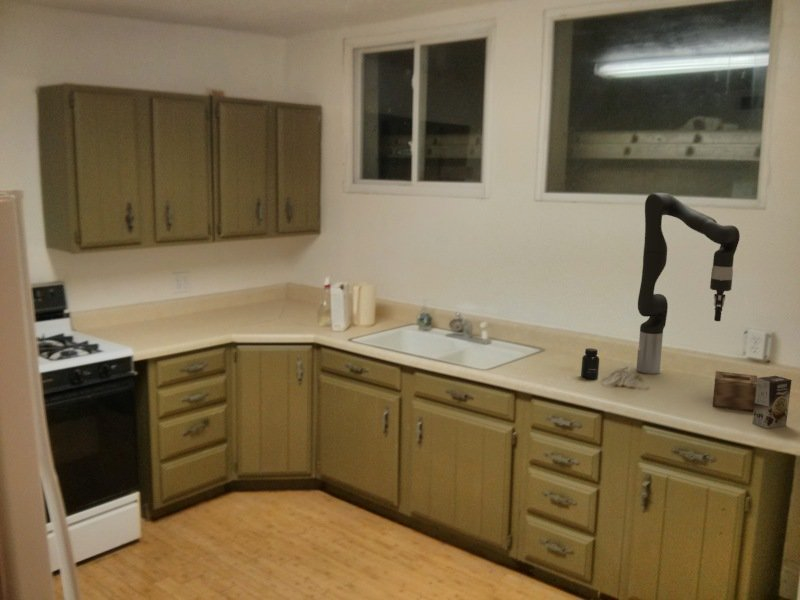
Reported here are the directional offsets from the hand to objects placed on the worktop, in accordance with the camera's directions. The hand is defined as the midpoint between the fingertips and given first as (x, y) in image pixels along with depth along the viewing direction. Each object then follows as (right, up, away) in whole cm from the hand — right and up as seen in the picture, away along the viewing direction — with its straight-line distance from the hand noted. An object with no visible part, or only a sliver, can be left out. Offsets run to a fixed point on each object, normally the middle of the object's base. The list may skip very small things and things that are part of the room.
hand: (717, 319), depth 284 cm
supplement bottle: (-45, -25, +17) cm, 54 cm away
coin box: (-1, -31, -15) cm, 35 cm away
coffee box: (+2, -35, -36) cm, 50 cm away
